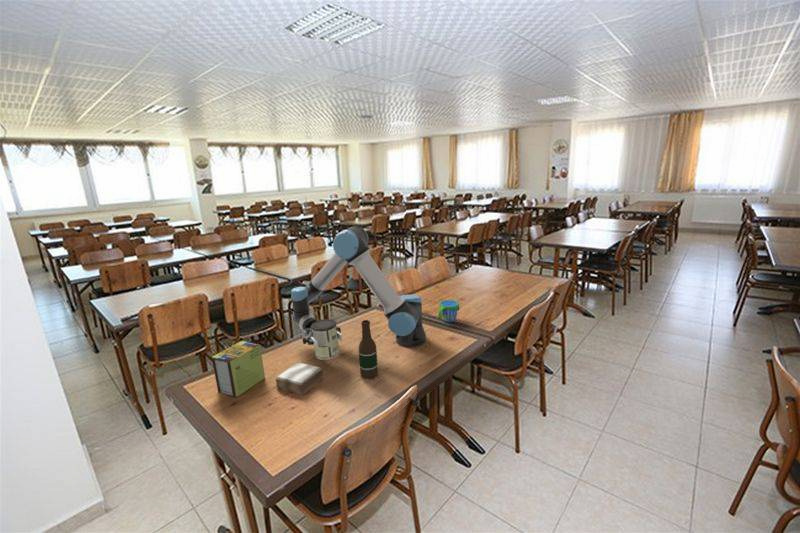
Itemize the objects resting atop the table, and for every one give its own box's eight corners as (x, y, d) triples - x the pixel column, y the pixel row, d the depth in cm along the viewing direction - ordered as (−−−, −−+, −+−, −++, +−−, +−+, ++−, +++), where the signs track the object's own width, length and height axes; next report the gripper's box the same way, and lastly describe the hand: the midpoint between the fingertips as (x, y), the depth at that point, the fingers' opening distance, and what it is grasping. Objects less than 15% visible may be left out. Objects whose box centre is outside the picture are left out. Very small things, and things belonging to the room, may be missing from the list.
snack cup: (445, 327, 199) (445, 309, 196) (432, 321, 207) (431, 304, 204) (465, 319, 208) (466, 302, 205) (452, 314, 216) (452, 297, 213)
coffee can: (319, 348, 166) (315, 319, 162) (342, 348, 165) (338, 318, 161) (311, 360, 156) (307, 329, 152) (335, 360, 155) (332, 328, 151)
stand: (323, 378, 154) (322, 367, 153) (302, 395, 143) (301, 383, 142) (298, 372, 160) (297, 361, 159) (277, 388, 149) (275, 376, 148)
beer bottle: (381, 371, 158) (378, 318, 152) (374, 380, 151) (370, 326, 145) (364, 368, 160) (360, 316, 154) (356, 378, 153) (352, 324, 147)
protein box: (265, 377, 157) (260, 344, 153) (236, 397, 144) (229, 361, 140) (247, 373, 161) (242, 340, 157) (217, 392, 148) (210, 356, 144)
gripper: (333, 326, 180) (354, 341, 162) (287, 339, 168) (304, 358, 150) (331, 311, 178) (353, 325, 160) (284, 324, 166) (302, 341, 148)
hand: (329, 341), depth 155 cm, fingers closed on coffee can, 10 cm apart
